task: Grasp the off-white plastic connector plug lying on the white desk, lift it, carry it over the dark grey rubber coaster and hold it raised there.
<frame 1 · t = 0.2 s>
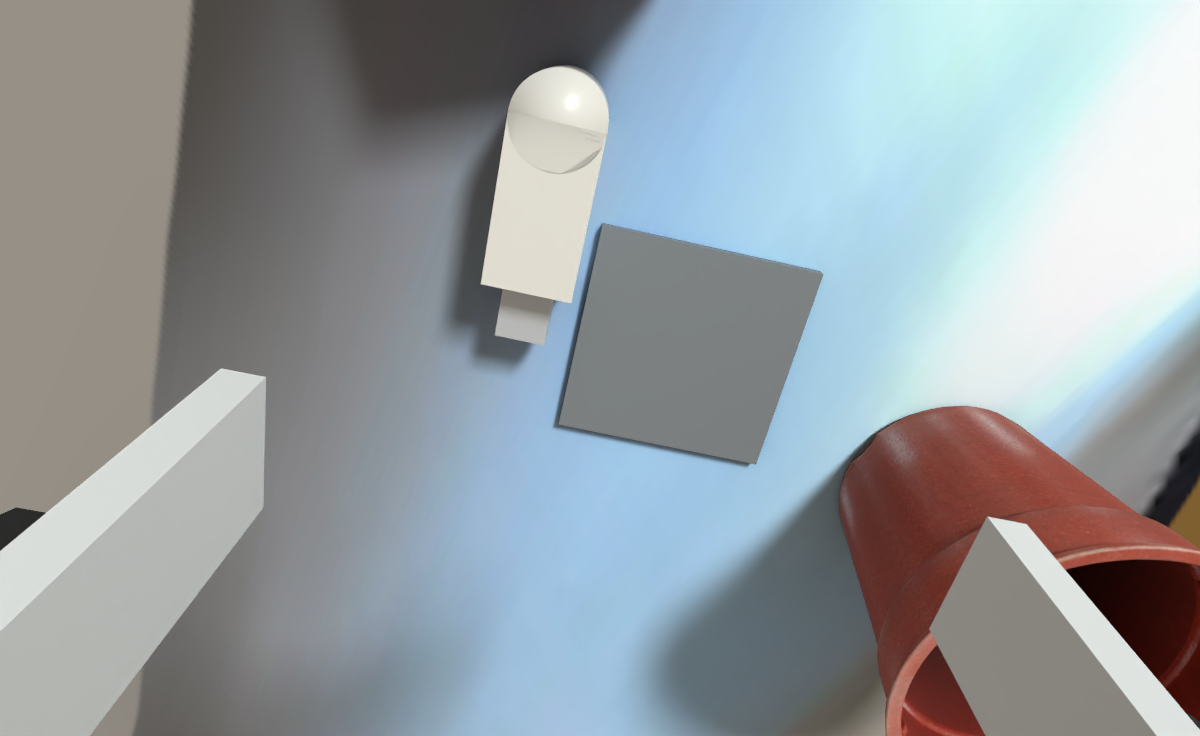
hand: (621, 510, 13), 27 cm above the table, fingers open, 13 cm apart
coaster: (683, 349, 41), on the table
connector: (550, 191, 38), on the table
flower pot: (934, 490, 45), on the table
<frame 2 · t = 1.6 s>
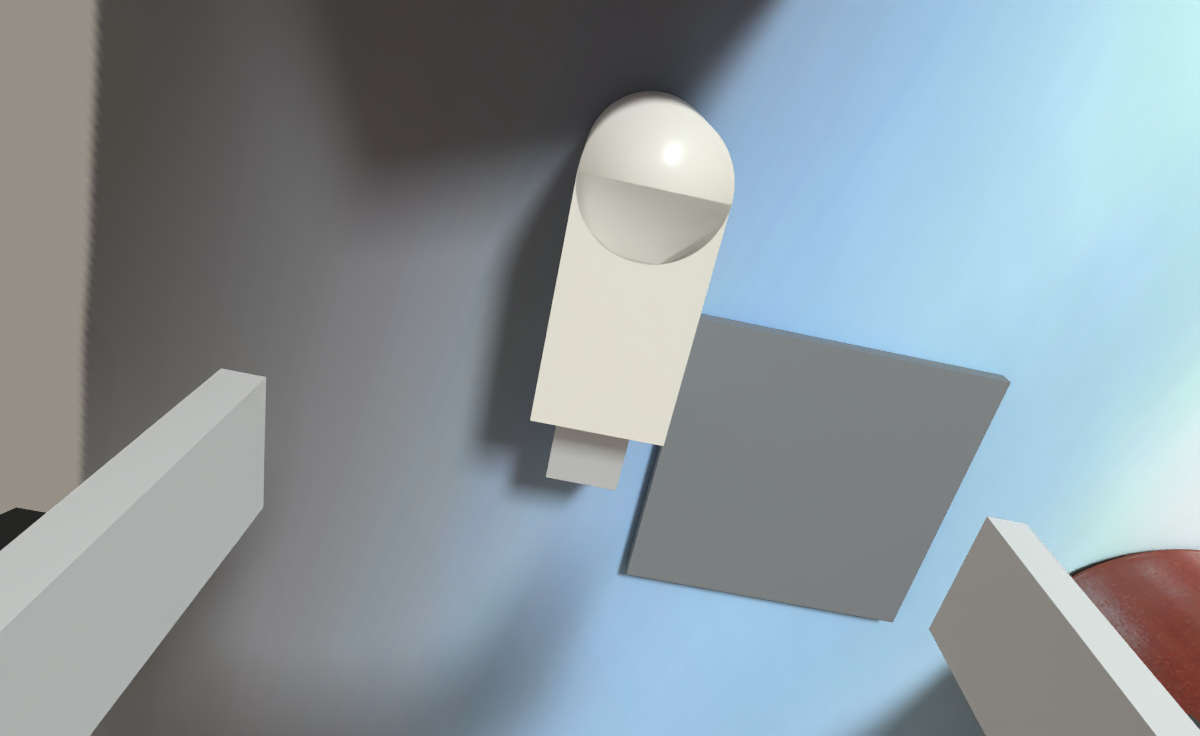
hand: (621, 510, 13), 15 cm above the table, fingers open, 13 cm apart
coaster: (801, 476, 30), on the table
connector: (623, 270, 27), on the table
flower pot: (1127, 648, 34), on the table
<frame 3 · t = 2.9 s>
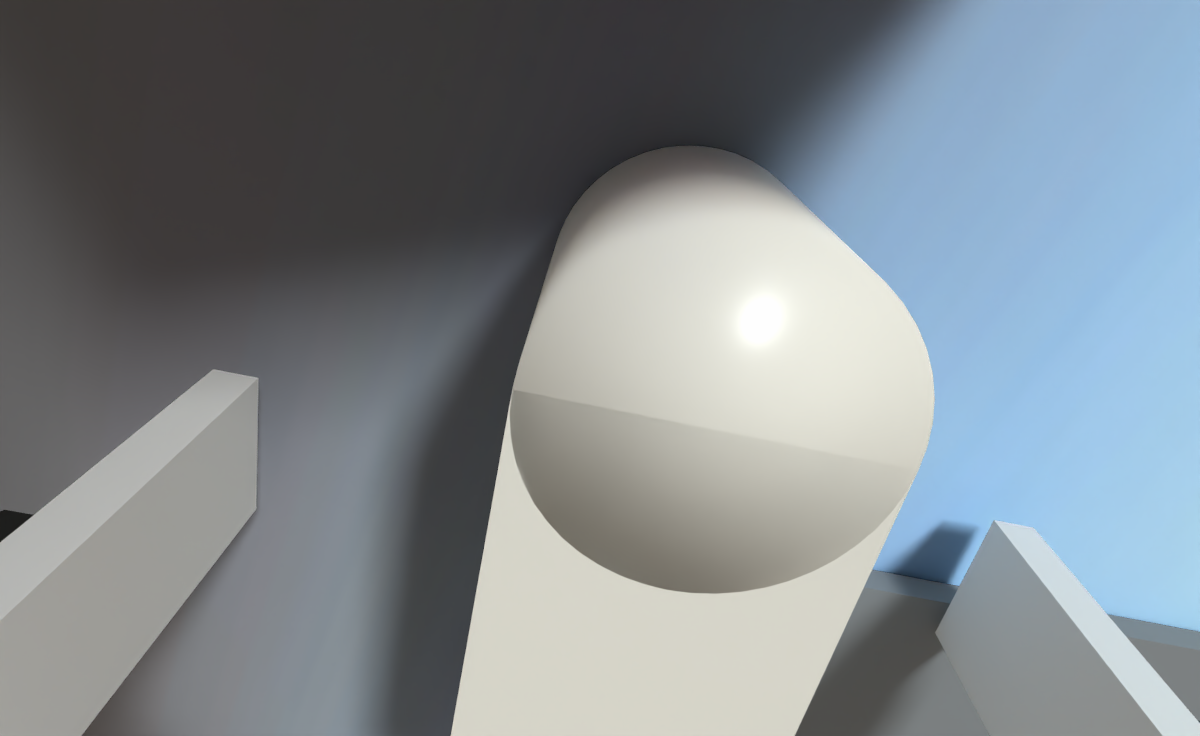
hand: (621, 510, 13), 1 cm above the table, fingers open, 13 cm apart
connector: (629, 479, 14), on the table
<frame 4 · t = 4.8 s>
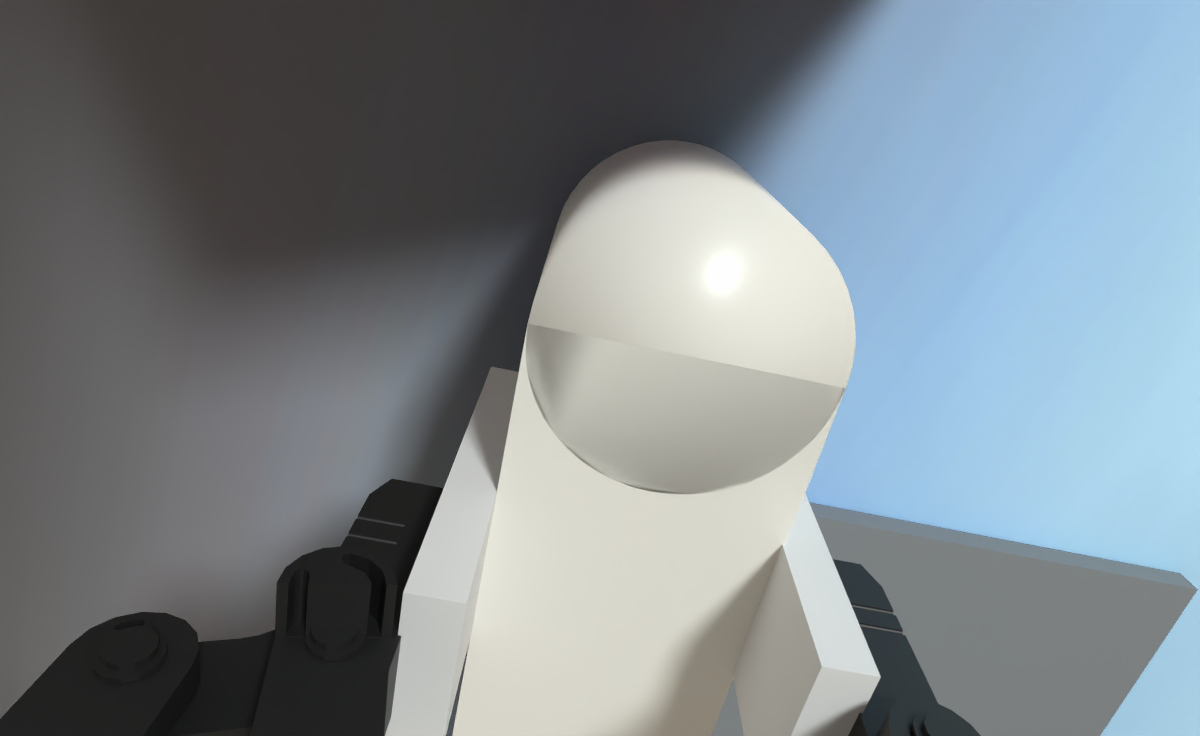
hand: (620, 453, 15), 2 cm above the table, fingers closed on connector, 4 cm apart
coaster: (871, 704, 20), on the table
connector: (620, 431, 16), point 1 cm above the table, touching gripper
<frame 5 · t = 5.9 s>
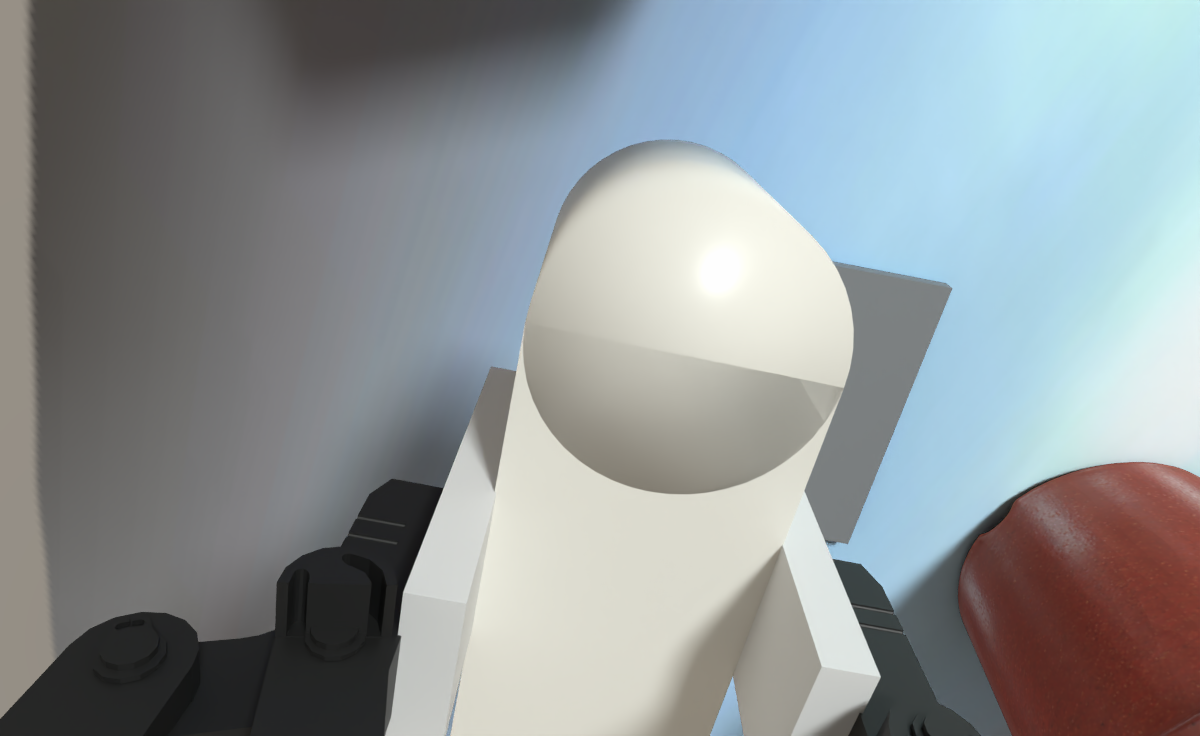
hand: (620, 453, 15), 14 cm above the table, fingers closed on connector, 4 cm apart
coaster: (749, 394, 30), on the table
connector: (619, 431, 16), point 13 cm above the table, touching gripper
flower pot: (1086, 570, 34), on the table
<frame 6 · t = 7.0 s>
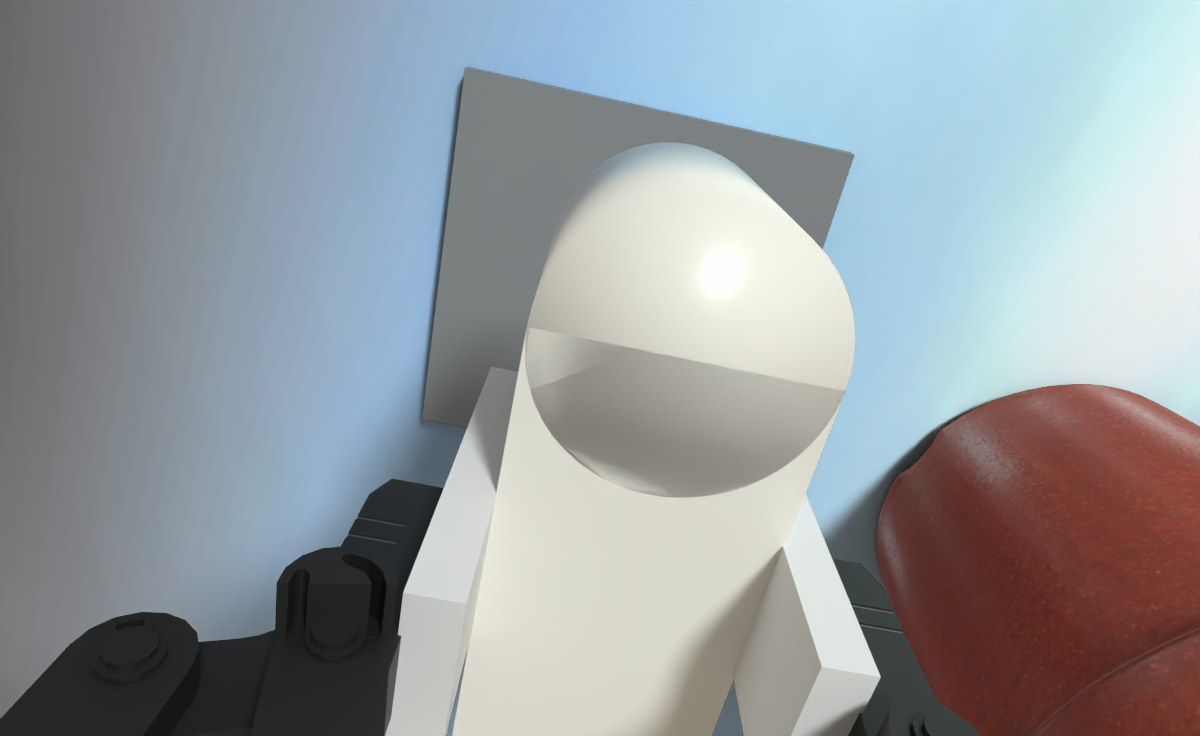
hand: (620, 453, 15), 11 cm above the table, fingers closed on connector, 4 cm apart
coaster: (619, 292, 25), on the table
connector: (620, 433, 16), point 10 cm above the table, touching gripper
flower pot: (1026, 519, 29), on the table
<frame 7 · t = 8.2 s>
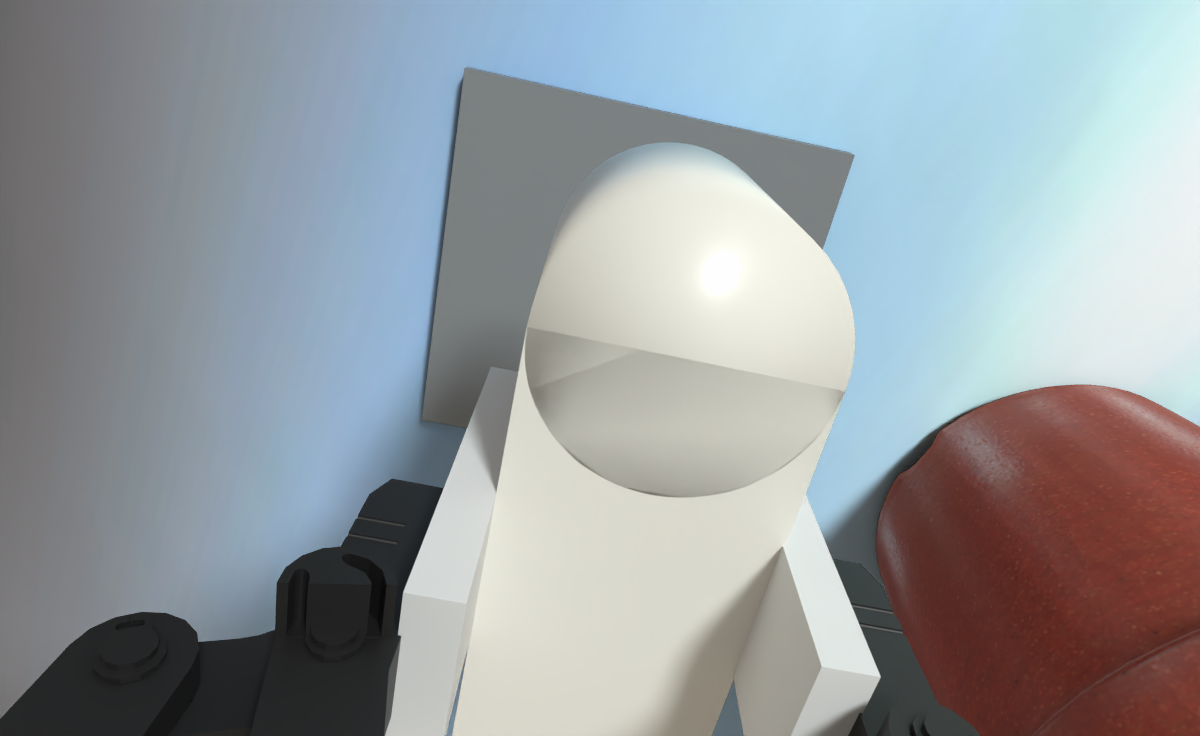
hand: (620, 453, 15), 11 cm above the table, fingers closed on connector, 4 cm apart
coaster: (619, 293, 25), on the table
connector: (620, 433, 16), point 10 cm above the table, touching gripper
flower pot: (1026, 520, 29), on the table
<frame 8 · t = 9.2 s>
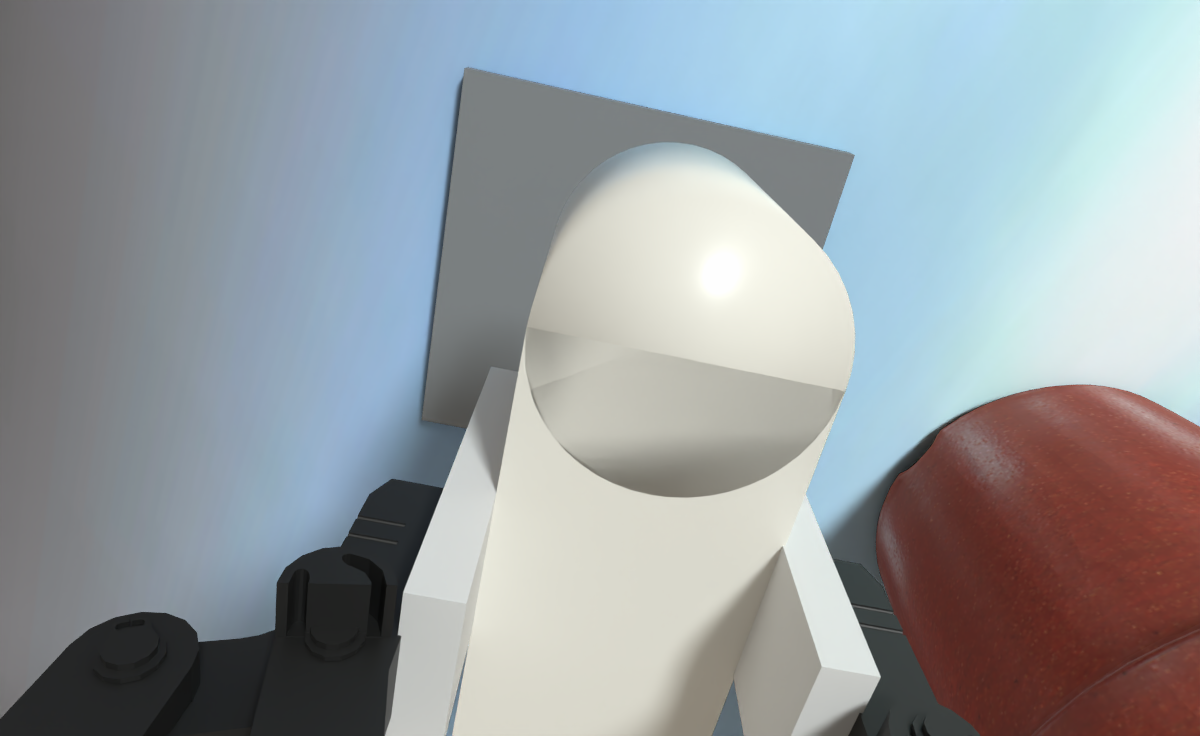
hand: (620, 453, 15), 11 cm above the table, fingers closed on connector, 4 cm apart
coaster: (619, 293, 25), on the table
connector: (620, 433, 16), point 10 cm above the table, touching gripper
flower pot: (1026, 520, 29), on the table
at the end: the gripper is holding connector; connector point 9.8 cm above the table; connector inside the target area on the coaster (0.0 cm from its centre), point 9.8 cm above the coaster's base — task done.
